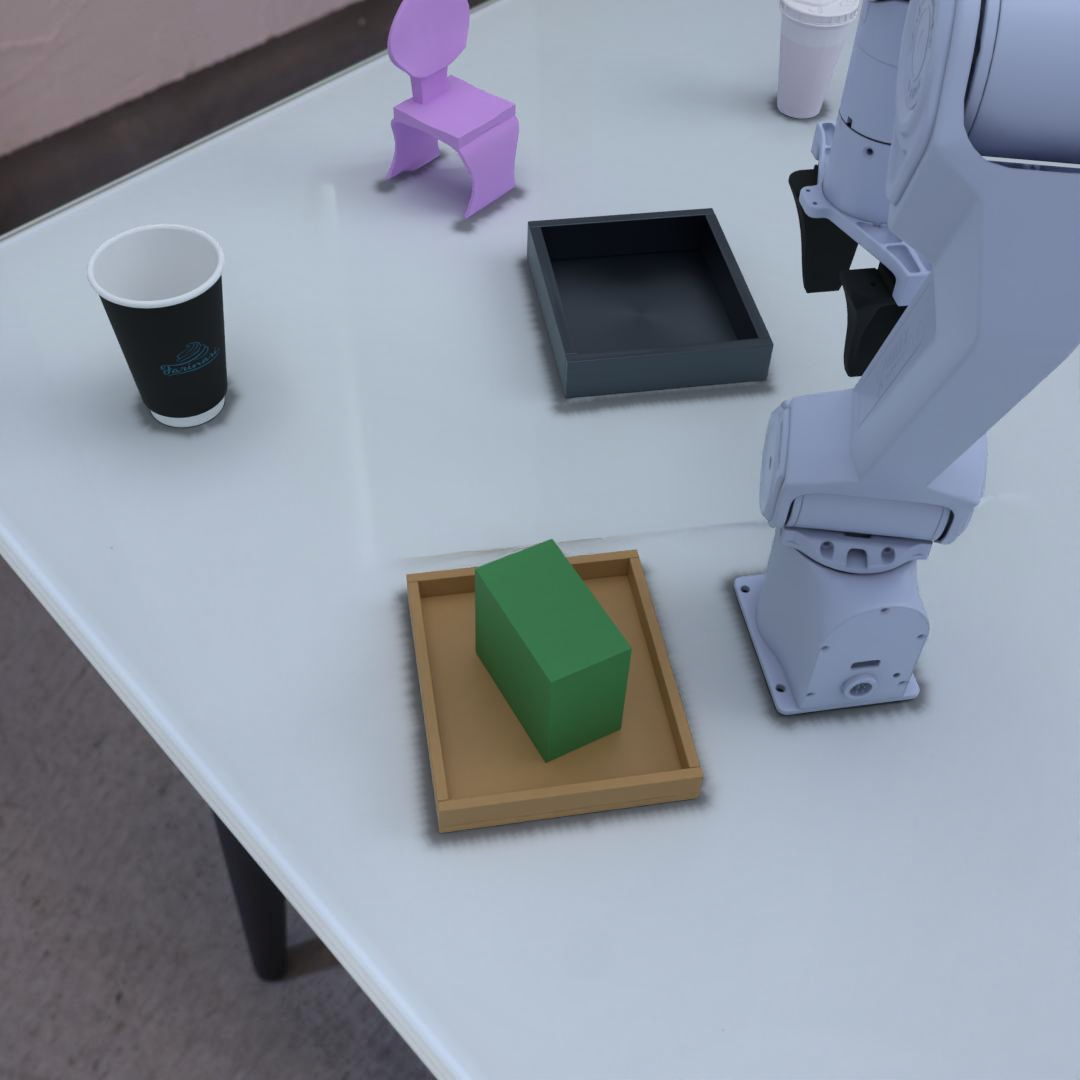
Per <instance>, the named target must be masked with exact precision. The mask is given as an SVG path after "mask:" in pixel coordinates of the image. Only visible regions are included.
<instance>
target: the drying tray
mask: <svg viewBox="0 0 1080 1080" xmlns="http://www.w3.org/2000/svg"><path fill="white" fill-rule="evenodd" d="M565 557H566V558H567V560H568V561H569V562H570V564H571V565H572V566H573V568H574V569H575V571H576V572H577V573H578V575H579V576H580V577H581V579H582V580H583V581H584V583H585V584H586V586H587V587H588V588H589V590H590V591H591V592H592V594H593V595H594V597H595V598H596V599H597V601H598V602H599V603H600V605H601V606H602V608H603V609H604V610H605V612H606V613H607V614H608V616H609V617H610V618H611V620H612V621H613V623H614V624H615V625H616V627H617V628H618V629H619V631H620V632H621V634H622V635H623V636H624V638H625V639H626V640H627V642H628V643H629V645H630V646H631V647H632V652H631V659H630V667H629V674H628V681H627V688H626V696H625V703H624V710H623V718H622V725H621V729H620V730H618V731H616V732H614V733H612V734H609V735H607V736H605V737H603V738H601V739H598V740H596V741H594V742H592V743H589V744H587V745H585V746H583V747H581V748H578V749H576V750H574V751H572V752H569V753H567V754H565V755H563V756H560V757H558V758H556V759H554V760H552V761H549V762H547V763H545V761H544V760H543V758H542V757H541V755H540V753H539V752H538V750H537V749H536V747H535V745H534V744H533V742H532V741H531V739H530V738H529V736H528V734H527V733H526V731H525V730H524V728H523V726H522V725H521V723H520V722H519V720H518V718H517V717H516V715H515V714H514V712H513V711H512V709H511V707H510V706H509V704H508V703H507V701H506V699H505V698H504V696H503V695H502V693H501V692H500V690H499V688H498V687H497V685H496V684H495V682H494V680H493V679H492V677H491V676H490V674H489V673H488V671H487V669H486V668H485V666H484V665H483V663H482V661H481V660H480V658H479V657H478V655H477V654H476V650H475V568H477V567H478V566H469V567H463V568H451V569H443V570H434V571H433V570H432V571H424V572H415V573H406V574H405V577H406V579H405V580H406V592H407V602H408V609H409V611H408V612H409V617H410V625H411V633H412V639H413V645H414V646H413V647H414V654H415V663H416V669H417V676H418V677H417V678H418V685H419V691H420V692H419V693H420V699H421V706H422V714H423V722H424V728H425V736H426V744H427V751H428V758H429V765H430V766H429V767H430V774H431V775H430V776H431V781H432V790H433V797H434V805H435V812H436V818H437V819H436V820H437V826H438V832H439V834H445V833H451V832H459V831H465V830H474V829H480V828H488V827H495V826H496V827H497V826H503V825H510V824H517V823H523V822H525V823H526V822H532V821H538V820H547V819H553V818H561V817H570V816H576V815H585V814H591V813H599V812H607V811H612V810H613V811H615V810H621V809H628V808H635V807H642V806H650V805H657V804H664V803H665V804H666V803H672V802H679V801H688V800H694V799H695V800H696V799H698V798H699V797H700V792H701V789H702V785H703V780H704V772H703V770H702V767H701V762H700V759H699V757H698V752H697V749H696V745H695V742H694V738H693V735H692V733H691V732H692V731H691V729H690V728H691V727H690V726H689V722H688V718H687V716H686V711H685V708H684V705H683V702H682V697H681V694H680V692H679V688H678V685H677V681H676V678H675V675H674V671H673V667H672V664H671V661H670V657H669V653H668V651H667V647H666V644H665V641H664V637H663V633H662V630H661V627H660V622H659V619H658V616H657V613H656V609H655V606H654V603H653V600H652V599H653V598H652V595H651V593H650V589H649V585H648V583H647V578H646V575H645V571H644V569H643V566H642V561H641V559H640V555H639V551H638V549H637V548H636V549H627V550H619V551H618V550H617V551H609V552H600V553H591V554H590V553H589V554H580V555H572V556H565Z"/></svg>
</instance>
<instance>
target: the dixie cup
mask: <svg viewBox="0 0 1080 1080" xmlns="http://www.w3.org/2000/svg"><path fill="white" fill-rule="evenodd" d="M225 265H226V256H225V252H224V249H223V248H222V246H221V244H220V243H219V242H218V240H217V239H216V238H214V237H213V236H212V235H211V234H209V233H207V232H205V231H203V230H201V229H198V228H195V227H193V226H189V225H184V224H176V223H157V224H156V223H154V224H153V223H152V224H146V225H141V226H137V227H133V228H129V229H128V230H124V231H122V232H121V231H120V232H119V233H117V234H115V235H113V236H112V237H109V238H108V239H107V240H105V241H104V242H102V244H100V245H99V246H98V247H97V248H96V249H95V250H94V251H93V253H92V254H91V256H90V257H89V259H88V262H87V266H86V278H87V281H88V283H89V285H90V287H91V288H92V290H93V291H94V292H95V293H96V294H97V295H98V297H99V299H100V301H101V303H102V306H103V309H104V311H105V315H106V316H107V318H108V321H109V323H110V325H111V328H112V330H113V333H114V335H115V338H116V340H117V342H118V345H119V348H120V349H121V352H122V354H123V357H124V360H125V362H126V365H127V366H128V369H129V371H130V374H131V376H132V379H133V381H134V383H135V385H136V388H137V391H138V392H139V395H140V398H141V400H142V402H143V403H144V406H146V408H148V410H149V411H150V413H151V414H152V416H153V417H154V419H156V420H157V422H159V423H160V424H163V425H166V426H170V427H175V428H191V427H195V426H199V425H202V424H205V423H207V422H208V421H209V422H210V420H212V419H214V418H215V417H216V416H217V415H218V414H219V413H221V411H222V409H223V408H224V405H225V400H226V399H225V398H226V397H225V396H226V394H227V391H228V373H227V372H228V371H227V370H228V369H227V351H226V350H227V349H226V333H225V314H224V295H223V293H224V292H223V272H224V270H225Z"/></svg>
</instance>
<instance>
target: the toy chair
mask: <svg viewBox="0 0 1080 1080" xmlns="http://www.w3.org/2000/svg"><path fill="white" fill-rule="evenodd" d="M470 15H471V12H470V4H469V1H468V0H402V2H401V3H400V5H399V6H398V9H397V10H396V13H395V15H394V17H393V20H392V23H391V25H390V29H389V31H388V32H389V33H388V36H387V42H386V45H387V47H386V49H387V55H388V59H389V60H390V62H391V63H392V64H393V66H395V67H396V68H397V69H399V70H401V71H402V72H404V73H405V74H407V75H408V76H409V78H410V79H409V80H410V86H411V87H410V88H411V93H412V97H410V98H408V99H405V100H403V101H402V102H399V103H398V104H396V105H394V106H393V107H392V109H393V118H392V119H391V121H390V127H391V131H392V135H393V140H394V153H393V158H392V161H391V164H390V167H389V170H388V172H387V175H386V179H388V180H390V179H392V178H394V177H395V176H397V175H399V174H401V173H402V172H415V171H417V170H418V169H420V168H422V167H424V166H425V165H427V164H428V163H430V162H432V161H434V160H435V159H436V158H438V157H440V155H441V150H440V145H439V141H440V142H442V143H443V144H445V145H447V146H449V147H450V148H452V149H453V150H454V151H455V152H457V155H458V156H459V158H460V159H461V162H462V164H463V165H464V166H465V169H466V170H467V173H468V175H469V177H470V181H471V193H470V198H469V201H468V205H467V207H466V209H465V212H464V214H463V218H464V219H468V218H470V217H471V216H473V215H474V214H476V213H477V212H479V211H480V210H482V209H484V208H485V207H486V206H488V205H490V204H491V203H492V202H494V201H496V200H497V199H499V198H500V197H502V196H503V195H504V194H507V193H508V192H509V191H511V190H512V189H514V188H515V187H516V177H515V176H516V175H515V169H516V168H515V165H516V155H517V148H518V143H519V135H520V122H519V118H518V117H517V115H516V107H517V106H516V103H514V102H511V101H510V100H508V99H505V98H503V97H501V96H497V95H495V94H492V93H489V92H487V91H485V90H483V89H481V88H479V87H476V86H474V85H473V84H472V83H469V82H467V81H465V80H464V79H461V78H459V77H457V76H455V75H452V74H450V75H448V68H449V66H450V65H451V64H452V63H453V62H454V61H455V60H456V59H457V58H458V57H459V56H460V55H461V54H462V53H463V51H464V50H465V49H466V48H467V41H468V35H469V27H470ZM438 140H439V141H438Z"/></svg>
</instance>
